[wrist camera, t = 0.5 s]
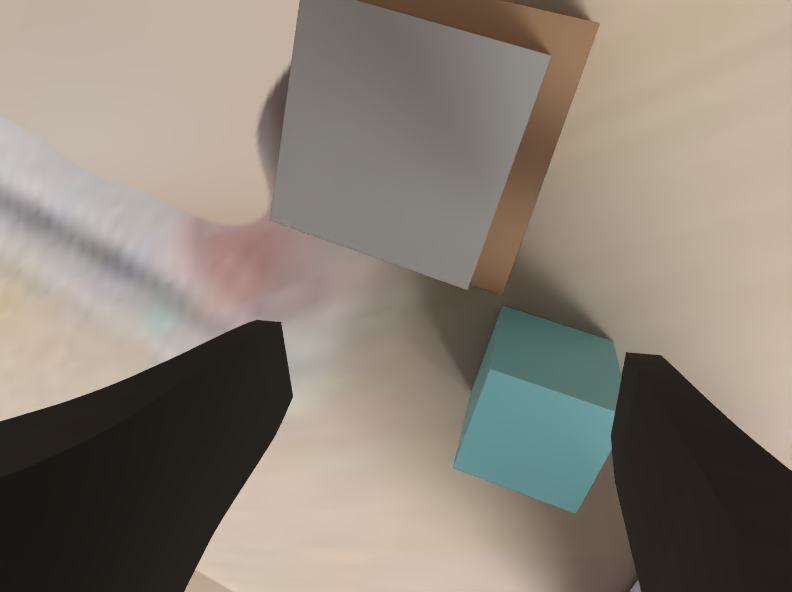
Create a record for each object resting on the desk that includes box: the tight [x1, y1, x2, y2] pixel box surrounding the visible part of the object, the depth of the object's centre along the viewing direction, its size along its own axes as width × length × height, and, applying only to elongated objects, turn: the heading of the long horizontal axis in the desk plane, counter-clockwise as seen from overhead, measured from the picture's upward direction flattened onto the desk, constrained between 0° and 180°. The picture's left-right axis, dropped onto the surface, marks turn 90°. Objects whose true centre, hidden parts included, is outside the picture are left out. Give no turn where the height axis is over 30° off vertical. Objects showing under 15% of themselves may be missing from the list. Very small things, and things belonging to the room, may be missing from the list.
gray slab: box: [270, 0, 551, 290], centre depth 16 cm, size 7×7×2 cm
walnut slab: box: [357, 0, 600, 295], centre depth 19 cm, size 9×9×2 cm
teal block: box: [453, 305, 621, 514], centre depth 19 cm, size 4×4×5 cm
